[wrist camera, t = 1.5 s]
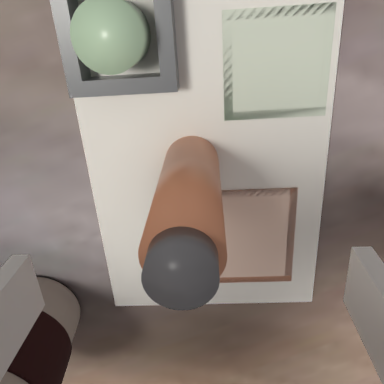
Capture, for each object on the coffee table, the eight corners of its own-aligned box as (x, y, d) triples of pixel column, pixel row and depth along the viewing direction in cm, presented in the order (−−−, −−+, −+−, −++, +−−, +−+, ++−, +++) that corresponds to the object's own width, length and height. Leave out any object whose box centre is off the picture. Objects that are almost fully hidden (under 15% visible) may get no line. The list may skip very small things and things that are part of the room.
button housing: (79, 92, 25) (69, 98, 23) (57, -25, 22) (43, -29, 20) (179, 86, 24) (177, 91, 23) (170, -34, 21) (167, -38, 20)
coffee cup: (-30, 281, 33) (-192, 461, 20) (60, 248, 31) (-52, 422, 18) (30, 352, 37) (-70, 542, 23) (114, 326, 35) (57, 518, 21)
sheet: (116, 303, 34) (115, 306, 33) (53, -14, 22) (50, -15, 22) (310, 298, 33) (312, 302, 32) (346, -36, 21) (349, -38, 21)
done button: (93, 69, 23) (77, 77, 21) (81, 1, 22) (62, -2, 19) (154, 66, 23) (146, 72, 20) (146, -4, 21) (137, -8, 19)
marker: (167, 186, 28) (137, 318, 16) (162, 137, 26) (125, 240, 14) (219, 184, 28) (230, 316, 15) (217, 134, 26) (228, 237, 14)
